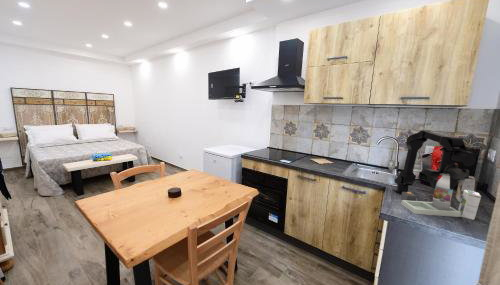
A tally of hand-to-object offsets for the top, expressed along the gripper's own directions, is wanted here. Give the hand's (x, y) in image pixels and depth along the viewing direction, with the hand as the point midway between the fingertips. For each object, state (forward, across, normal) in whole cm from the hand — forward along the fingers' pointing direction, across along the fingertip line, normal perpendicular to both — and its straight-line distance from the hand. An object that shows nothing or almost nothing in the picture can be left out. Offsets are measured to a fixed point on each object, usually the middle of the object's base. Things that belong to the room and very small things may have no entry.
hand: (442, 189), depth 108 cm
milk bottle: (+15, +15, +15) cm, 26 cm away
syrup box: (+15, +14, -2) cm, 20 cm away
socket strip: (+15, -2, +2) cm, 15 cm away
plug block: (+15, -7, +12) cm, 20 cm away
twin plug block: (+14, +3, +2) cm, 14 cm away
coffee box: (+15, +34, +21) cm, 43 cm away
